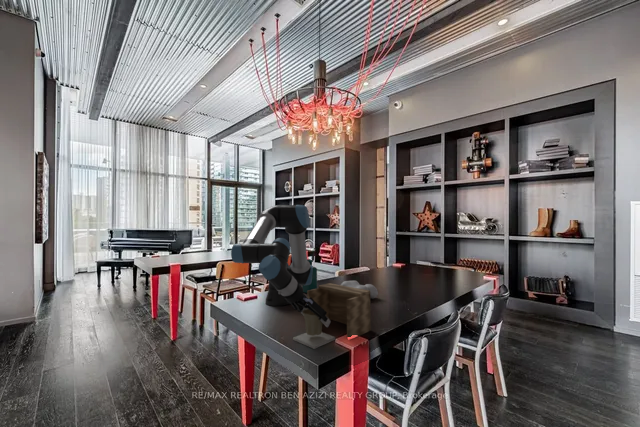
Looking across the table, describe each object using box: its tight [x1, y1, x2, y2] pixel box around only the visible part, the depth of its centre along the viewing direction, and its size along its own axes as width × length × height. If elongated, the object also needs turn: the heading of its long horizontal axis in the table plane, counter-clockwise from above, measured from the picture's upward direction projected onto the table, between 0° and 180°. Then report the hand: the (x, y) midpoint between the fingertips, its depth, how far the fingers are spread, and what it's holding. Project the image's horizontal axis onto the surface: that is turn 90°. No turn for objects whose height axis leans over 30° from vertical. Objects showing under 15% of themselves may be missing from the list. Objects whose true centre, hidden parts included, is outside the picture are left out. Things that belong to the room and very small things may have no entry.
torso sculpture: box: [340, 280, 379, 300], centre depth 186 cm, size 16×11×30 cm
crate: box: [306, 282, 372, 338], centre depth 128 cm, size 15×24×17 cm, turn 46°
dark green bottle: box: [301, 258, 318, 294], centre depth 198 cm, size 10×8×22 cm
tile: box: [292, 331, 336, 350], centre depth 115 cm, size 12×12×1 cm
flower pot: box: [302, 308, 324, 336], centre depth 115 cm, size 9×9×9 cm
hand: (319, 321), depth 117 cm, fingers closed on flower pot, 9 cm apart
